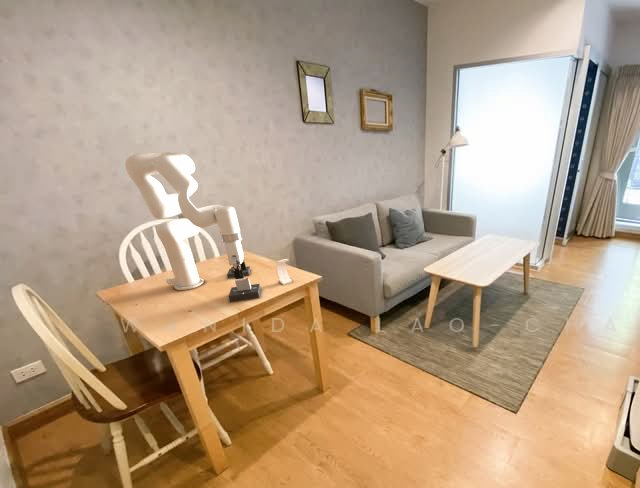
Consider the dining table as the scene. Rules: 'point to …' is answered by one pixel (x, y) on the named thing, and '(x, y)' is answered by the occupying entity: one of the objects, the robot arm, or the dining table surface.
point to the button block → (245, 272)
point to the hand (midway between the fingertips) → (241, 274)
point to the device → (244, 293)
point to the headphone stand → (282, 272)
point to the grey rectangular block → (243, 284)
